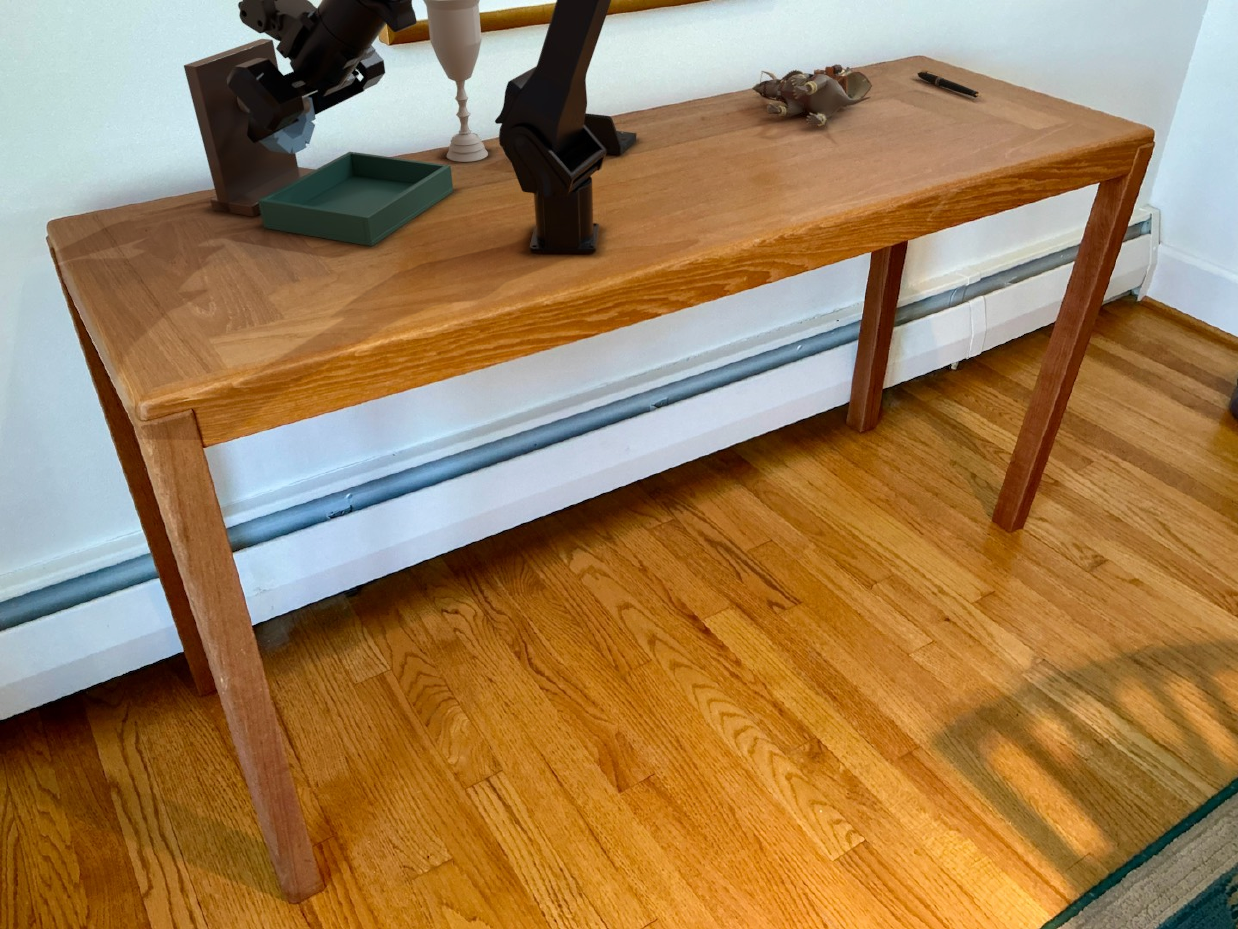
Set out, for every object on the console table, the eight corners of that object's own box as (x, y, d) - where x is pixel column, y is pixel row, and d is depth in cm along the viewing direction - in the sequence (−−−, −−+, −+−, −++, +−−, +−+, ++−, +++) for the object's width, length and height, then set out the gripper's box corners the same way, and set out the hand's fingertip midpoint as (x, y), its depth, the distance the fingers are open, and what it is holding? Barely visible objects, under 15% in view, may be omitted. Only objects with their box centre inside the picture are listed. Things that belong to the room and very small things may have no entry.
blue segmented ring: (320, 141, 108) (307, 74, 104) (279, 161, 103) (265, 91, 99) (301, 138, 109) (288, 72, 105) (260, 158, 104) (244, 89, 99)
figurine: (723, 69, 132) (792, 47, 142) (723, 116, 135) (790, 91, 146) (857, 85, 120) (921, 59, 131) (853, 135, 124) (916, 107, 134)
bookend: (639, 121, 125) (619, 68, 116) (635, 170, 123) (615, 121, 114) (552, 129, 128) (527, 78, 119) (547, 177, 126) (521, 130, 117)
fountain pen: (987, 101, 137) (989, 90, 136) (980, 102, 137) (983, 91, 136) (919, 77, 148) (921, 66, 147) (913, 78, 147) (914, 67, 146)
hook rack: (359, 185, 112) (336, 45, 104) (293, 223, 103) (262, 73, 95) (282, 174, 116) (253, 37, 107) (212, 210, 107) (175, 64, 98)
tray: (453, 191, 111) (450, 164, 109) (372, 246, 98) (367, 217, 97) (353, 176, 115) (349, 151, 113) (263, 227, 102) (257, 200, 101)
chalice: (441, 145, 123) (423, -12, 113) (496, 144, 124) (483, -14, 113) (437, 165, 118) (417, 1, 107) (494, 163, 118) (480, -1, 107)
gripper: (342, -60, 101) (276, 46, 110) (218, -28, 87) (154, 90, 96) (419, 29, 103) (347, 125, 113) (310, 74, 89) (238, 179, 99)
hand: (275, 127), depth 105 cm, fingers open, 8 cm apart
